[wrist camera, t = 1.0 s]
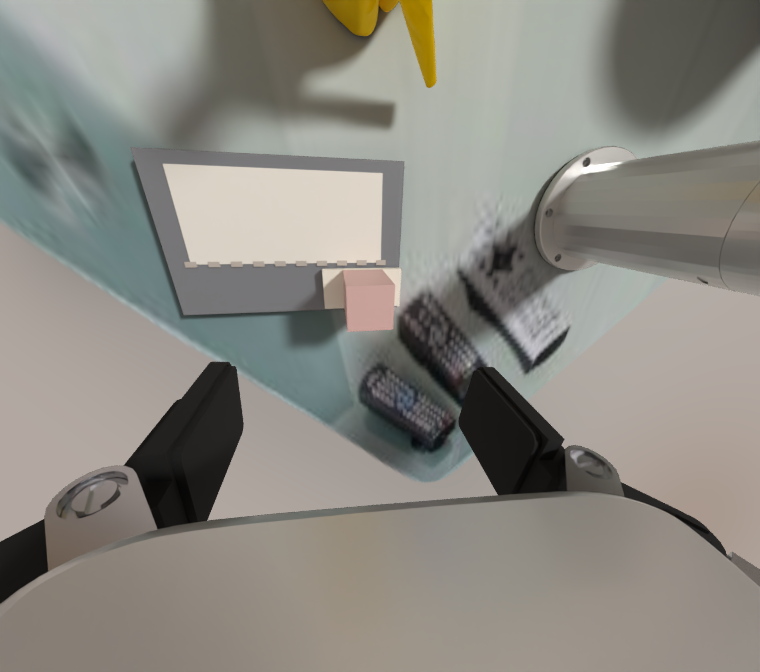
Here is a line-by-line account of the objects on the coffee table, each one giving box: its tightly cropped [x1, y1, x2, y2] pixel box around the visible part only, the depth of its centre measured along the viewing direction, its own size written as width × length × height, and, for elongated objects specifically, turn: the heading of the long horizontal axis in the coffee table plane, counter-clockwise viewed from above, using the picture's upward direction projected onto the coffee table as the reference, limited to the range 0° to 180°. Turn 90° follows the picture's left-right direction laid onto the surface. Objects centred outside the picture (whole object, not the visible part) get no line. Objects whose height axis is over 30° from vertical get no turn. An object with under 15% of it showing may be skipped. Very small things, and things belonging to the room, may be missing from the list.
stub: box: [322, 268, 401, 332], centre depth 25 cm, size 8×4×7 cm, turn 88°
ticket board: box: [130, 147, 404, 315], centre depth 26 cm, size 22×14×2 cm, turn 88°
